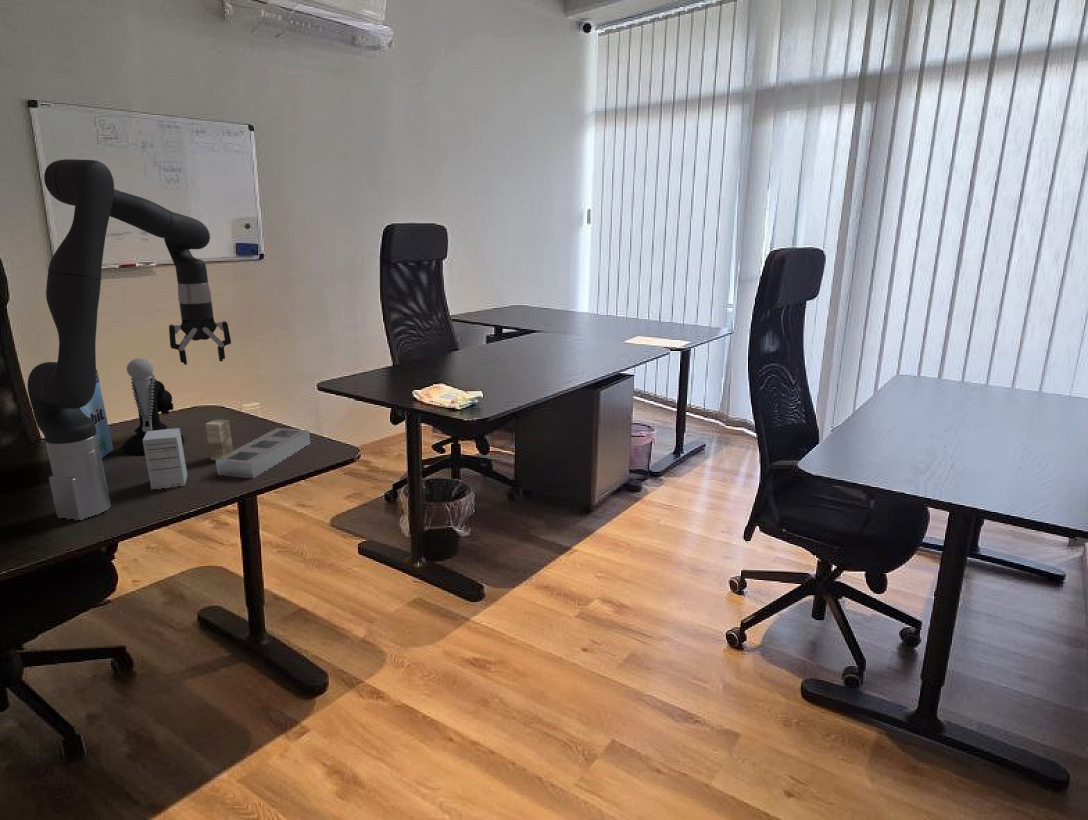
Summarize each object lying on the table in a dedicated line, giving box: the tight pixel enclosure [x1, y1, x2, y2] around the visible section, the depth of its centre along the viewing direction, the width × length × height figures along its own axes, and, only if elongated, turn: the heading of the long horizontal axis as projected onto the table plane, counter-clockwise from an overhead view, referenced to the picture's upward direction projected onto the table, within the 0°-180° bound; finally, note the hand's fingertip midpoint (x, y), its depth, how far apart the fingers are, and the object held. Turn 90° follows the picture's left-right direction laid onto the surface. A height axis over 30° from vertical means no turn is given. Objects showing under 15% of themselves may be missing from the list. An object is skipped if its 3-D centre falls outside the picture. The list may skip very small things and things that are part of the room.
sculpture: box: [121, 358, 185, 456], centre depth 196 cm, size 15×24×25 cm, turn 15°
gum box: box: [80, 369, 114, 459], centre depth 180 cm, size 20×5×23 cm, turn 8°
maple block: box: [204, 419, 234, 461], centre depth 185 cm, size 4×4×10 cm
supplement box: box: [142, 427, 188, 491], centre depth 168 cm, size 7×7×13 cm
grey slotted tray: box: [215, 427, 311, 479], centre depth 185 cm, size 26×10×4 cm, turn 167°
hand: (203, 362), depth 185 cm, fingers open, 8 cm apart
